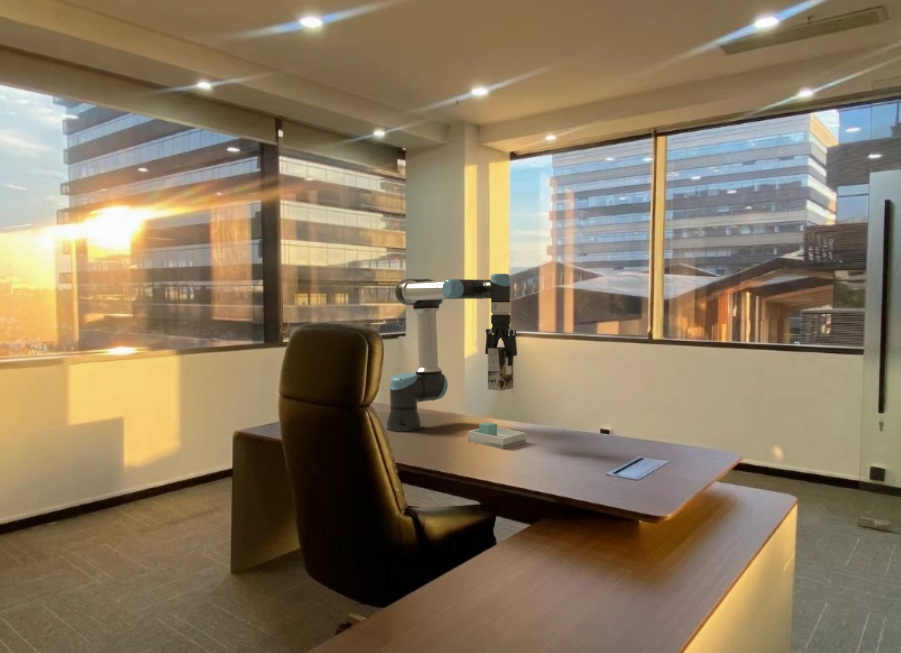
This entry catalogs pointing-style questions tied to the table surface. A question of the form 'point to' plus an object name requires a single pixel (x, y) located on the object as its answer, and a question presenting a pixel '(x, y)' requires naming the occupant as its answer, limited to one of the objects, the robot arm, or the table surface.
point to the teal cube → (488, 428)
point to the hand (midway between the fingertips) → (500, 373)
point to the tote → (498, 438)
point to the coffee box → (498, 370)
